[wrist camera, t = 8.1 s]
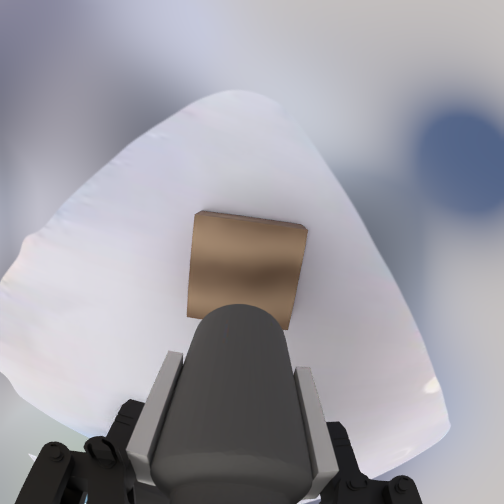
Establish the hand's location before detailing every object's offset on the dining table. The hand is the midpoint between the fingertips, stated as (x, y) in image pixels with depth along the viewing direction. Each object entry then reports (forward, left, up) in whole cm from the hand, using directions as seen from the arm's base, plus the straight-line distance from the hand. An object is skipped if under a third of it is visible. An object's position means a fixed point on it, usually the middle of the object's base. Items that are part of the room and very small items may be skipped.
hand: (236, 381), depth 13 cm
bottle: (0, 0, -4) cm, 4 cm away
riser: (0, 0, -21) cm, 21 cm away
